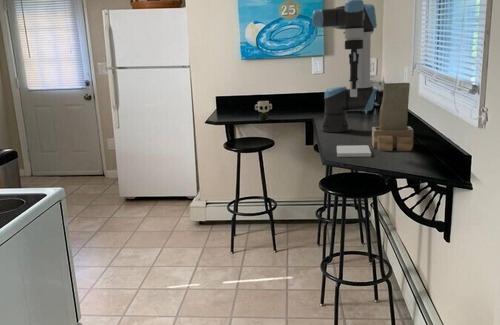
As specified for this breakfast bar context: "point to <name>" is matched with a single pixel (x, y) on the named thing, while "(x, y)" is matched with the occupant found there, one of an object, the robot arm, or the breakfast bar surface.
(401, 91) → the stone slab
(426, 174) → the breakfast bar surface
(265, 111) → the big eared figurine
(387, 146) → the offcut block
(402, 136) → the offcut block
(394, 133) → the rack
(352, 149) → the felt pad
